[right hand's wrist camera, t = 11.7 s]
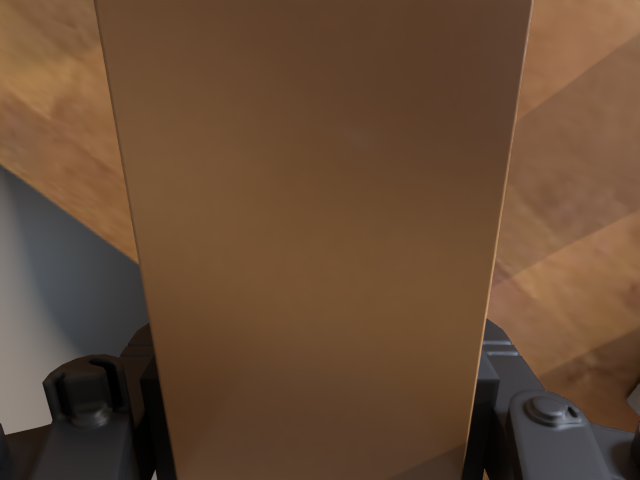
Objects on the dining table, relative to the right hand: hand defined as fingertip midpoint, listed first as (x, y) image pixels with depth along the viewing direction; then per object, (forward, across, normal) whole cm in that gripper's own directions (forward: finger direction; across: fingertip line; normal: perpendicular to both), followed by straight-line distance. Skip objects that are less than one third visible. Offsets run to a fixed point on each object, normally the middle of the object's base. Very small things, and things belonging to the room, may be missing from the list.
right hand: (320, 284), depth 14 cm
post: (0, 0, -30) cm, 30 cm away
